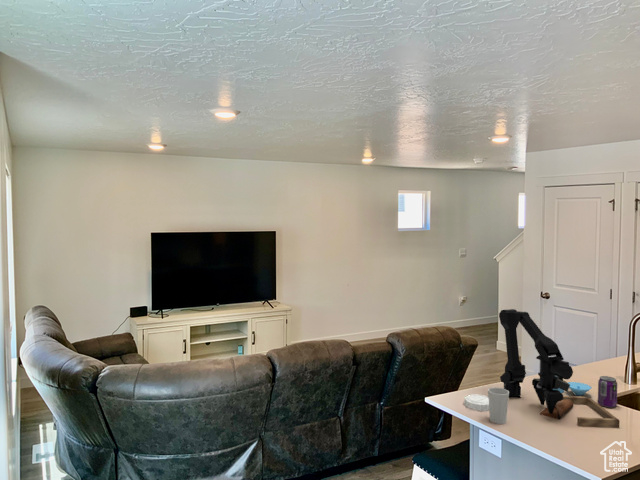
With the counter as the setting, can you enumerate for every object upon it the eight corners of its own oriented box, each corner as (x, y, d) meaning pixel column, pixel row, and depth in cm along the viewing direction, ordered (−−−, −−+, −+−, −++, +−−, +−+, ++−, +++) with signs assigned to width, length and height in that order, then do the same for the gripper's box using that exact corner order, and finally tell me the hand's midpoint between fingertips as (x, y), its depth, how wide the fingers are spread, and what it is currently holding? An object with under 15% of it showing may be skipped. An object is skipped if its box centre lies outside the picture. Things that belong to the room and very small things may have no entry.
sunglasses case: (552, 402, 209) (561, 391, 206) (567, 414, 205) (576, 403, 202) (538, 414, 196) (547, 403, 193) (553, 427, 192) (563, 415, 189)
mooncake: (475, 399, 213) (475, 391, 213) (499, 407, 204) (499, 399, 204) (458, 405, 206) (458, 397, 206) (482, 414, 197) (482, 405, 196)
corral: (578, 426, 184) (579, 418, 184) (553, 402, 209) (553, 395, 209) (619, 427, 183) (619, 420, 183) (588, 403, 208) (588, 396, 208)
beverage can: (619, 409, 202) (620, 381, 201) (601, 407, 203) (602, 380, 203) (612, 403, 208) (613, 376, 208) (595, 401, 210) (595, 375, 210)
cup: (508, 418, 192) (508, 388, 192) (509, 425, 185) (509, 395, 184) (487, 415, 195) (487, 386, 194) (487, 423, 187) (488, 393, 187)
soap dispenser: (592, 394, 219) (593, 375, 219) (589, 401, 211) (590, 381, 211) (550, 386, 230) (551, 367, 230) (545, 392, 222) (546, 373, 222)
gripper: (577, 380, 187) (576, 419, 187) (558, 366, 205) (557, 401, 206) (548, 378, 188) (547, 417, 188) (532, 365, 206) (531, 400, 207)
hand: (546, 409), depth 197 cm, fingers open, 9 cm apart
